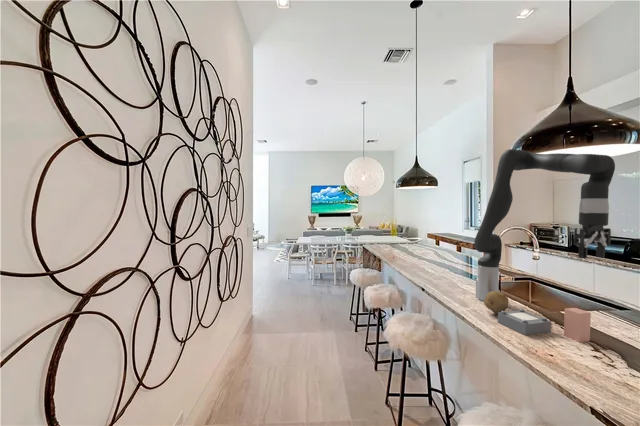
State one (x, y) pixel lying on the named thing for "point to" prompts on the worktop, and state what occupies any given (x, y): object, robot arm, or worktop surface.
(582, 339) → the coral brick
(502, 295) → the brown round lump
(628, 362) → the worktop surface
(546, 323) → the base brick
